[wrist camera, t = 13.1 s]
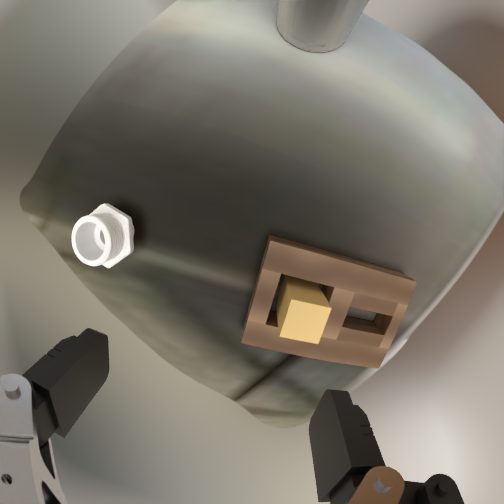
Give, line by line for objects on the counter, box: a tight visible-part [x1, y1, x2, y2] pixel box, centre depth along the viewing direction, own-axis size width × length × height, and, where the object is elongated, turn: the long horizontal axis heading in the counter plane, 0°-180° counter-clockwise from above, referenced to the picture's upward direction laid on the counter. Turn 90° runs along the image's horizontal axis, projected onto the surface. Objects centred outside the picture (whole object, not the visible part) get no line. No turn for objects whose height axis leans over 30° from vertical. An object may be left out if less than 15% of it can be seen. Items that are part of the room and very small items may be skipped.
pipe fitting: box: [72, 204, 135, 268], centre depth 29 cm, size 6×7×8 cm
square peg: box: [276, 275, 332, 344], centre depth 30 cm, size 4×4×8 cm
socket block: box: [241, 235, 417, 368], centre depth 32 cm, size 12×18×4 cm, turn 75°
